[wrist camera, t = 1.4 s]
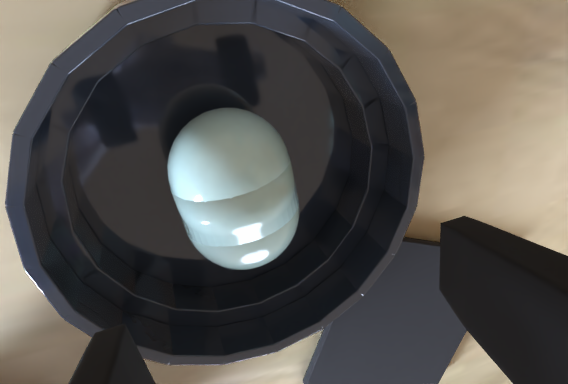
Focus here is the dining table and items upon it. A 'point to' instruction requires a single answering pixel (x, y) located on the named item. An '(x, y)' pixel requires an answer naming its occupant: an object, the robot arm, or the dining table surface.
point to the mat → (392, 327)
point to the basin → (155, 187)
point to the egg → (234, 187)
